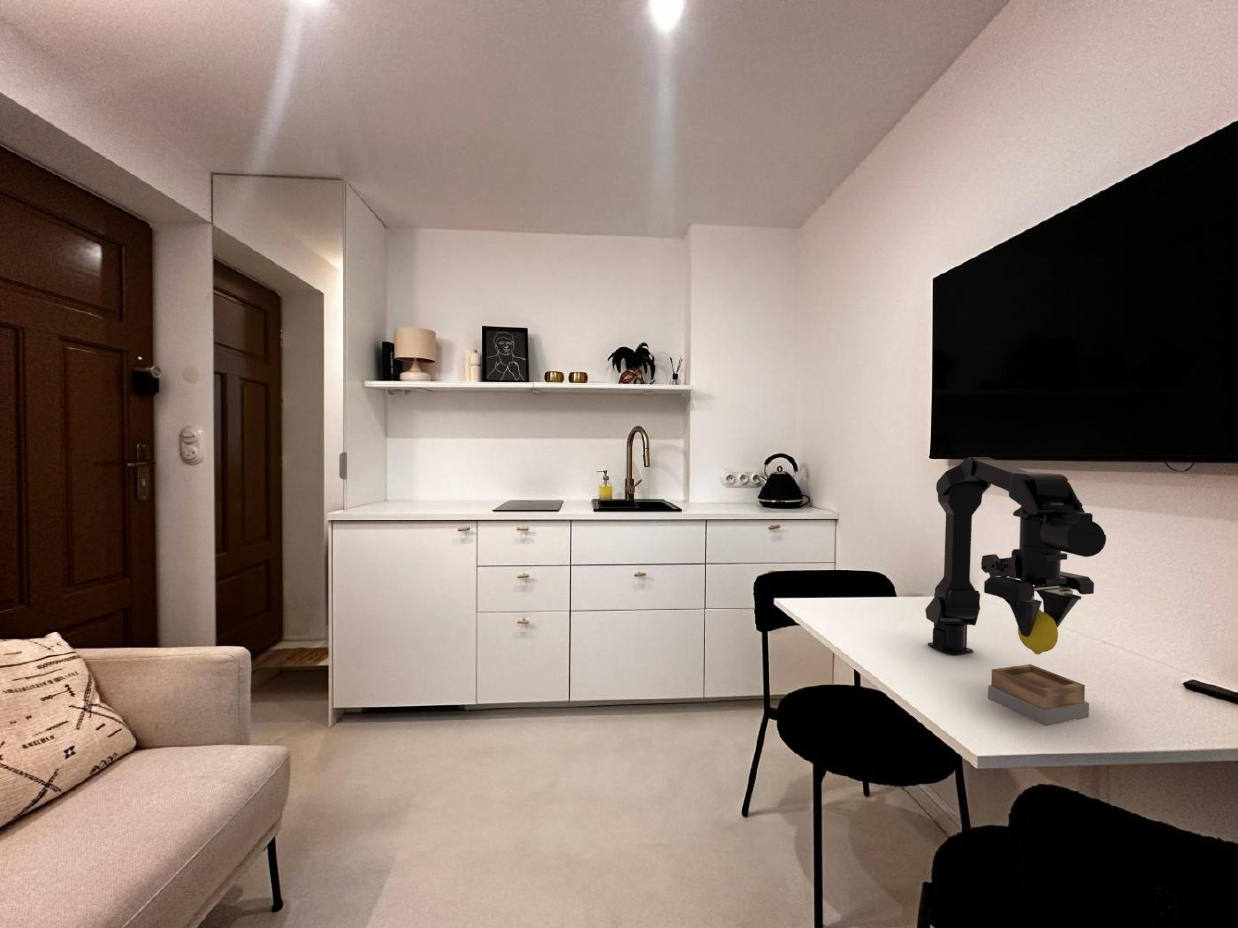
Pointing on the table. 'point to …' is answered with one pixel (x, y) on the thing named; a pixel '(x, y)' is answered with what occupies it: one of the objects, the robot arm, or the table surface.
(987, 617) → the table surface
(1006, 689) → the wooden tray
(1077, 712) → the bottom block
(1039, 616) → the lemon
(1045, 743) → the table surface
